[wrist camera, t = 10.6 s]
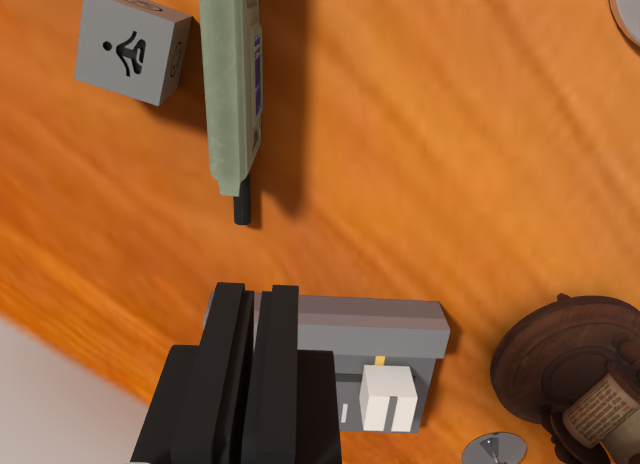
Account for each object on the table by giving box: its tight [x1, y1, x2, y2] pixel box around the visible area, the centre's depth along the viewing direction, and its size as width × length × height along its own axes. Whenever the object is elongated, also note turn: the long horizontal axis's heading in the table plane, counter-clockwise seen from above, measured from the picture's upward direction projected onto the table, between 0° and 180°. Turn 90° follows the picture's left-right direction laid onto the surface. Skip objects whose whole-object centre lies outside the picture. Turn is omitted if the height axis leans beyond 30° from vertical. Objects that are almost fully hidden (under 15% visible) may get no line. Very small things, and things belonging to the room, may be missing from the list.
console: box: [203, 291, 450, 433], centre depth 44 cm, size 20×14×4 cm
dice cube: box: [74, 0, 192, 106], centre depth 31 cm, size 5×5×5 cm
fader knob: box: [359, 365, 418, 433], centre depth 42 cm, size 4×4×4 cm
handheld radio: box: [199, 0, 263, 225], centre depth 31 cm, size 7×3×25 cm
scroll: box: [490, 293, 640, 464], centre depth 38 cm, size 15×15×20 cm
